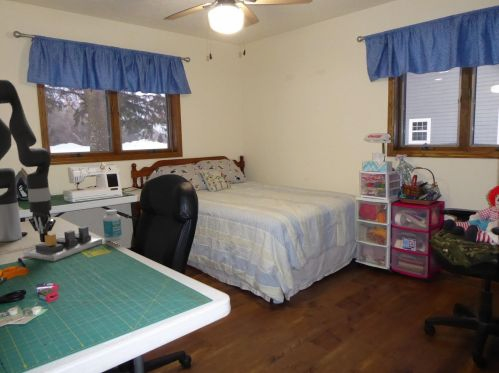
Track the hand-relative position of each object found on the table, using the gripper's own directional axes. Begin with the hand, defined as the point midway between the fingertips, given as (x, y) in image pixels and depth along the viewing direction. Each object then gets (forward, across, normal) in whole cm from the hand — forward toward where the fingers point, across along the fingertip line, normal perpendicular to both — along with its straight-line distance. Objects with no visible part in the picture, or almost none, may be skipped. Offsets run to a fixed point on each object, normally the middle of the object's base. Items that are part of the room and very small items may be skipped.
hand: (44, 241), depth 142 cm
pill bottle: (+5, +11, +25) cm, 28 cm away
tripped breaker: (+1, +4, 0) cm, 4 cm away
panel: (+5, +2, +7) cm, 9 cm away
